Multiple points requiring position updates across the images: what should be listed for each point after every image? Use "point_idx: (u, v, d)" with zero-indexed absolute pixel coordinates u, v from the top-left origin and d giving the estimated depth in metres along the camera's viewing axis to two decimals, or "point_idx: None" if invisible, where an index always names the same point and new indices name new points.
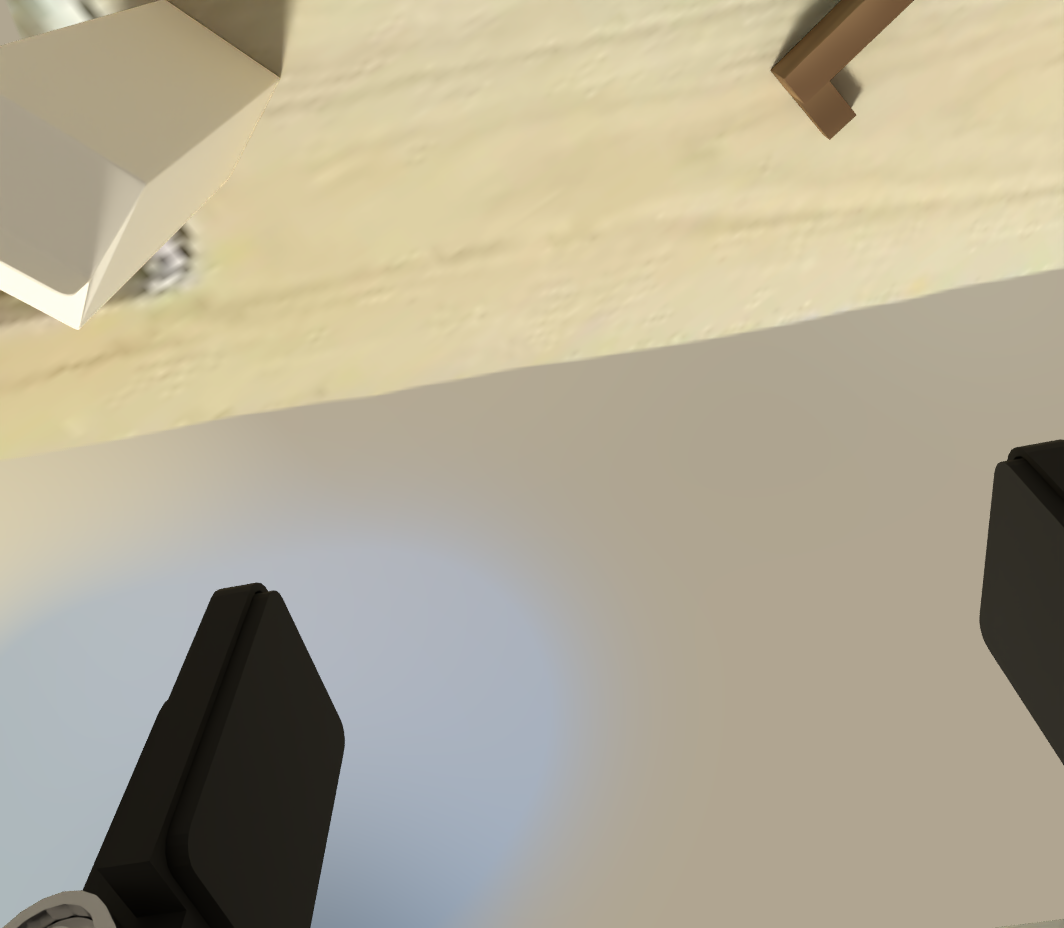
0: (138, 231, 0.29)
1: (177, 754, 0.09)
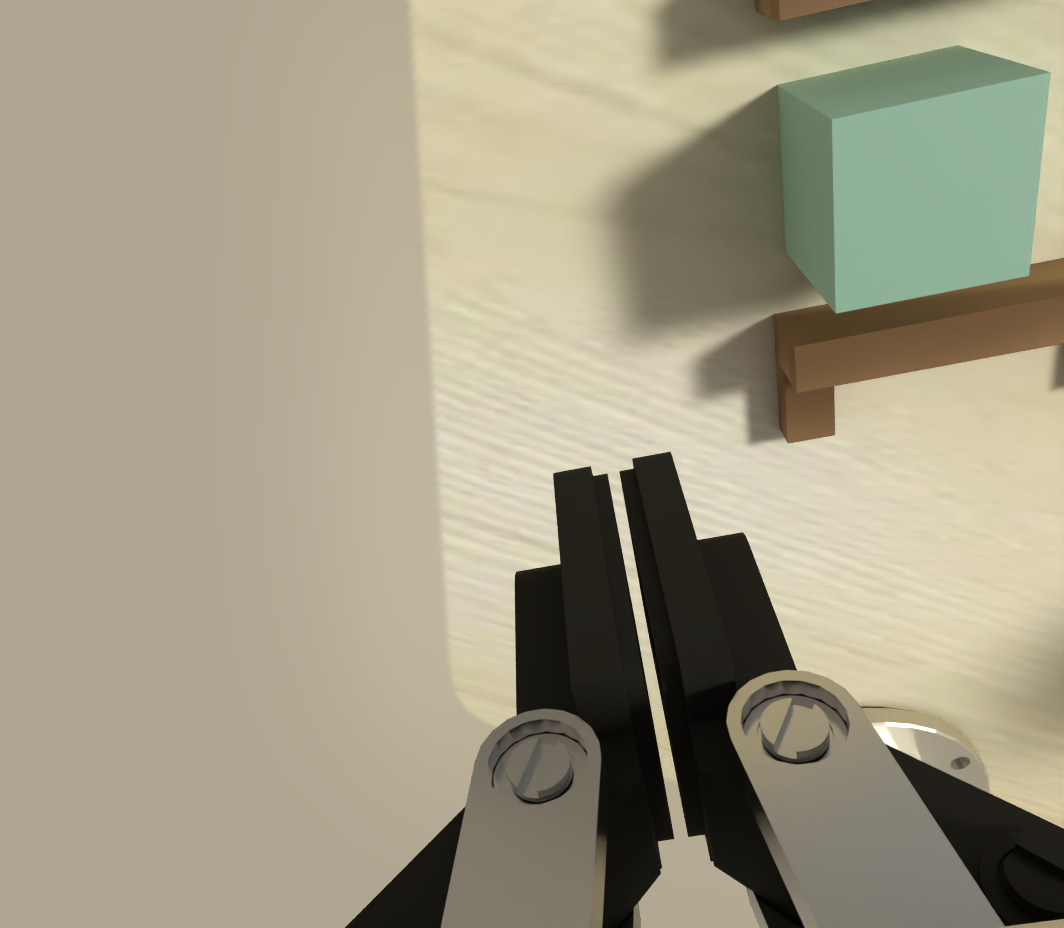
0: None
1: (597, 598, 0.09)
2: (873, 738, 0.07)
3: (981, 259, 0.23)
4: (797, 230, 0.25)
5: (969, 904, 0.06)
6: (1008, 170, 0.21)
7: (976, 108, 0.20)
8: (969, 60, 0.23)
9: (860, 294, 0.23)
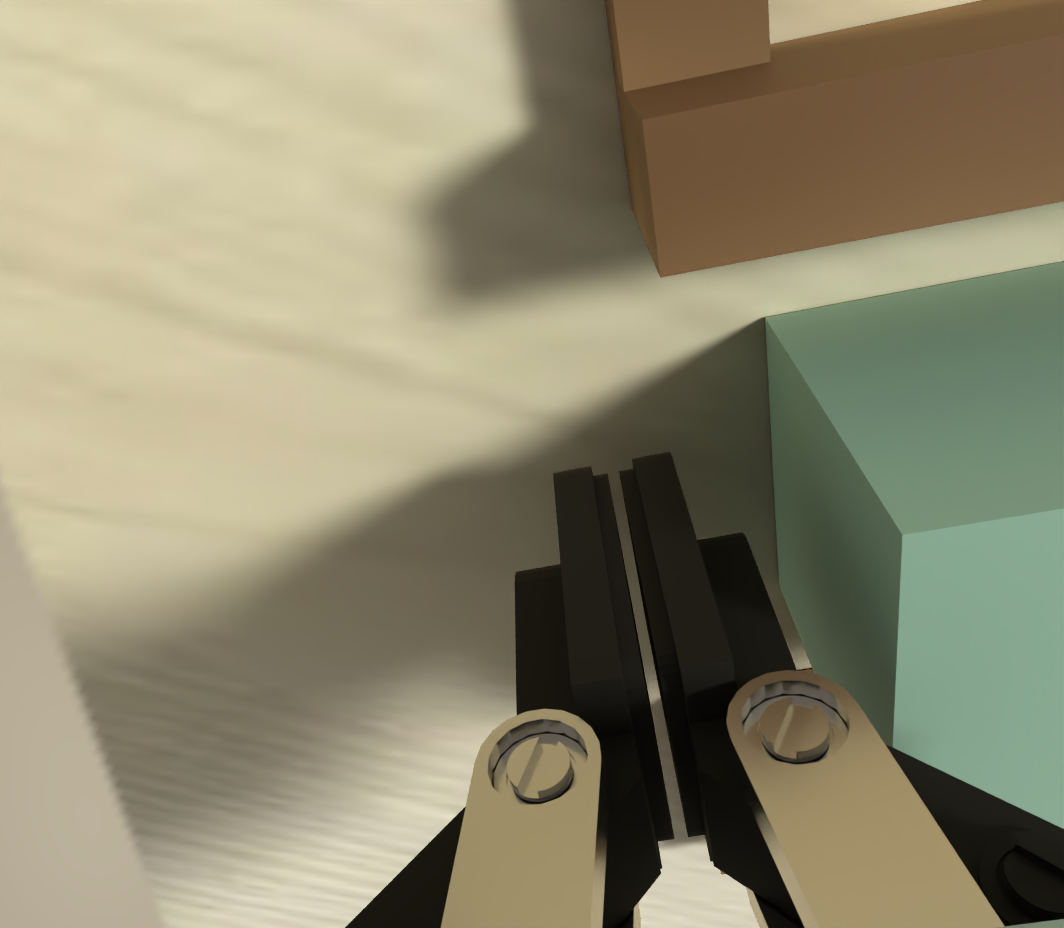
0: None
1: (597, 598, 0.09)
2: (873, 738, 0.07)
3: None
4: (803, 594, 0.13)
5: (969, 905, 0.06)
6: None
7: None
8: None
9: None
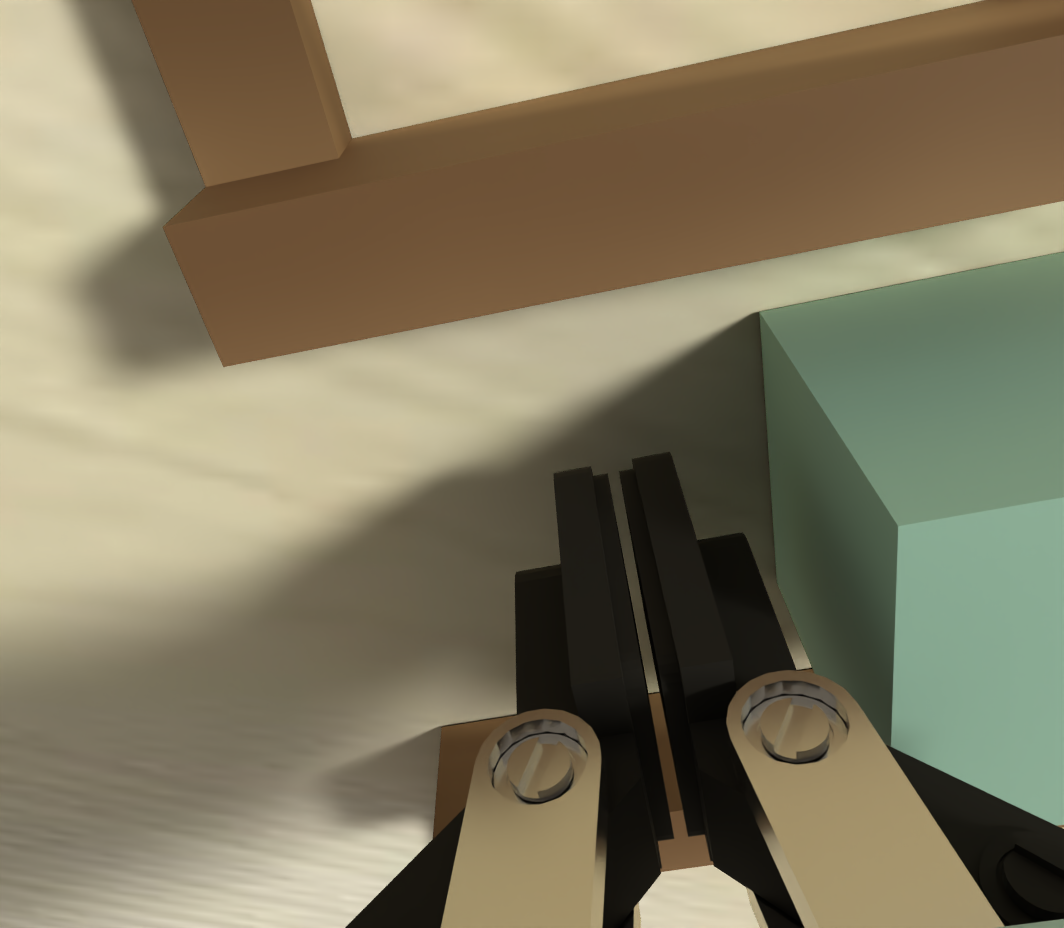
0: None
1: (597, 598, 0.09)
2: (872, 738, 0.07)
3: None
4: (801, 589, 0.13)
5: (968, 905, 0.06)
6: None
7: None
8: None
9: None
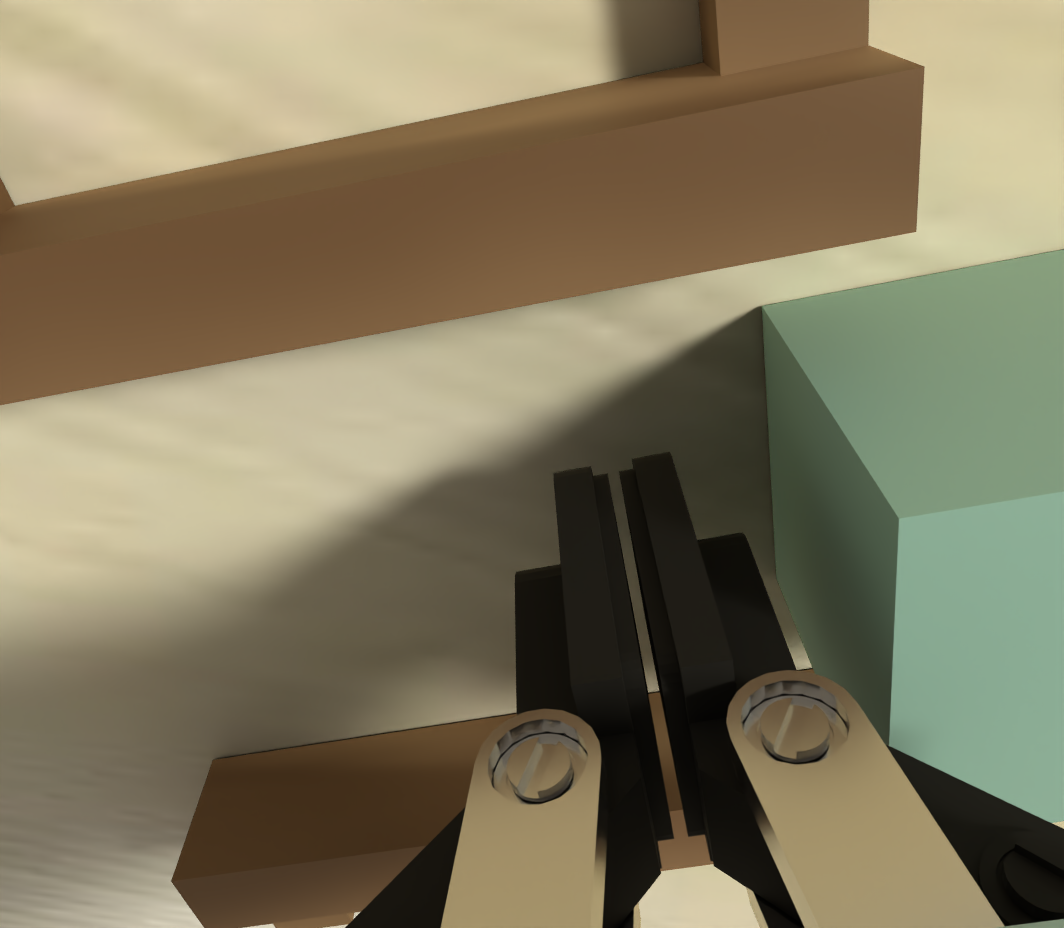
0: None
1: (597, 598, 0.09)
2: (873, 738, 0.07)
3: None
4: (800, 584, 0.13)
5: (968, 904, 0.06)
6: None
7: None
8: None
9: None
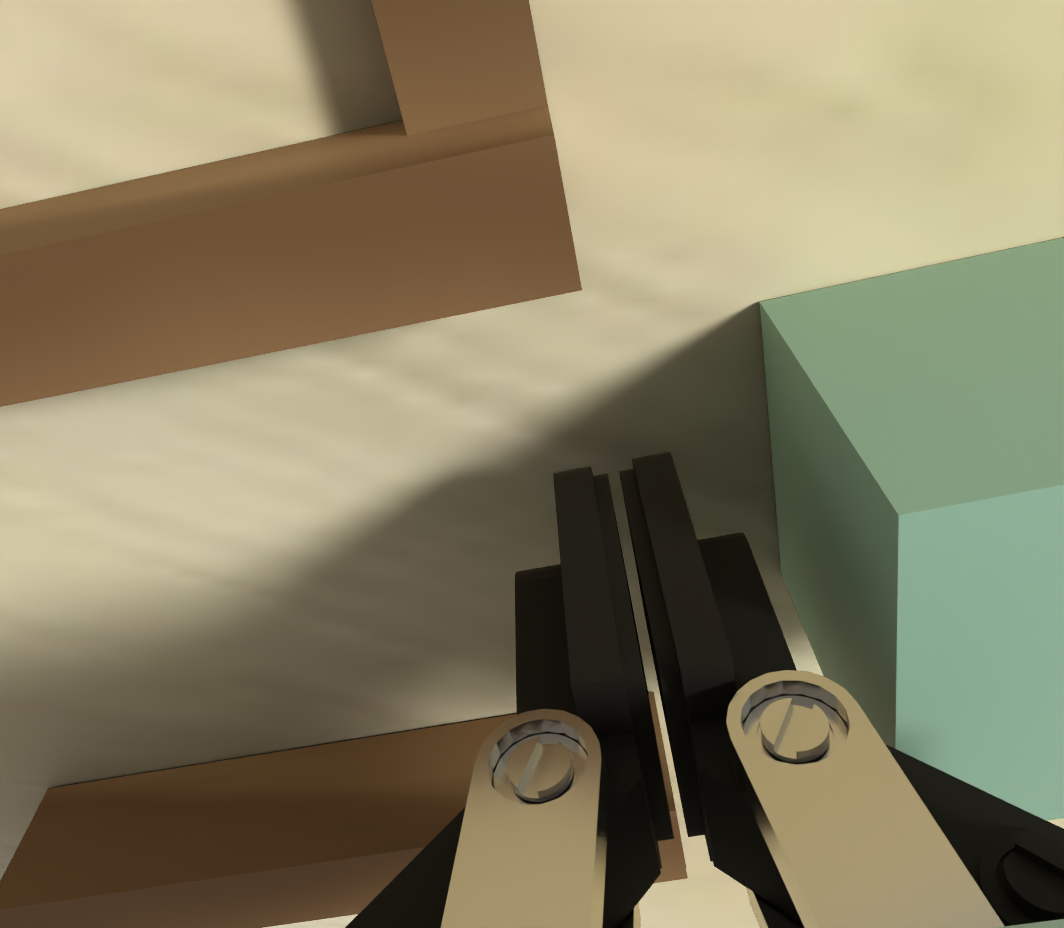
0: None
1: (597, 598, 0.09)
2: (872, 738, 0.07)
3: None
4: (805, 581, 0.13)
5: (969, 904, 0.06)
6: None
7: None
8: None
9: None
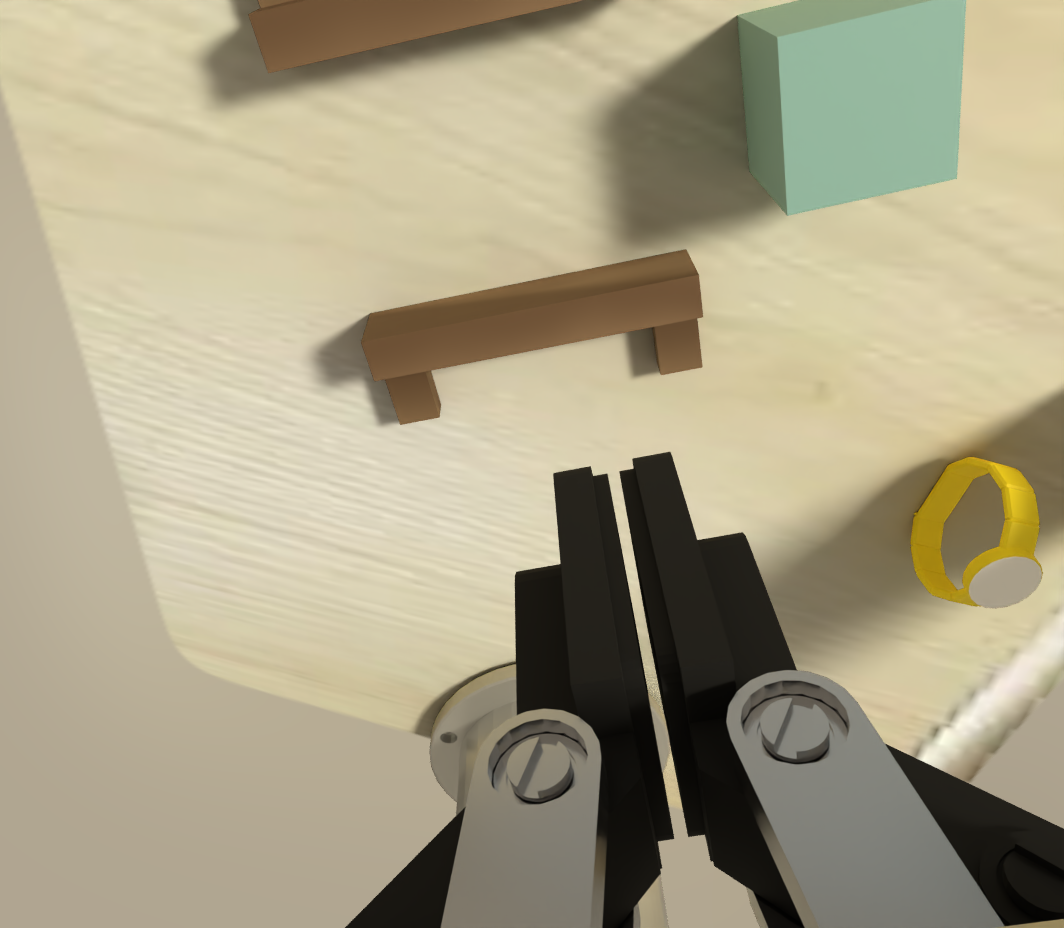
0: None
1: (597, 598, 0.09)
2: (873, 738, 0.07)
3: (914, 164, 0.26)
4: (757, 147, 0.29)
5: (969, 905, 0.06)
6: (934, 81, 0.24)
7: (903, 25, 0.24)
8: None
9: (808, 198, 0.26)
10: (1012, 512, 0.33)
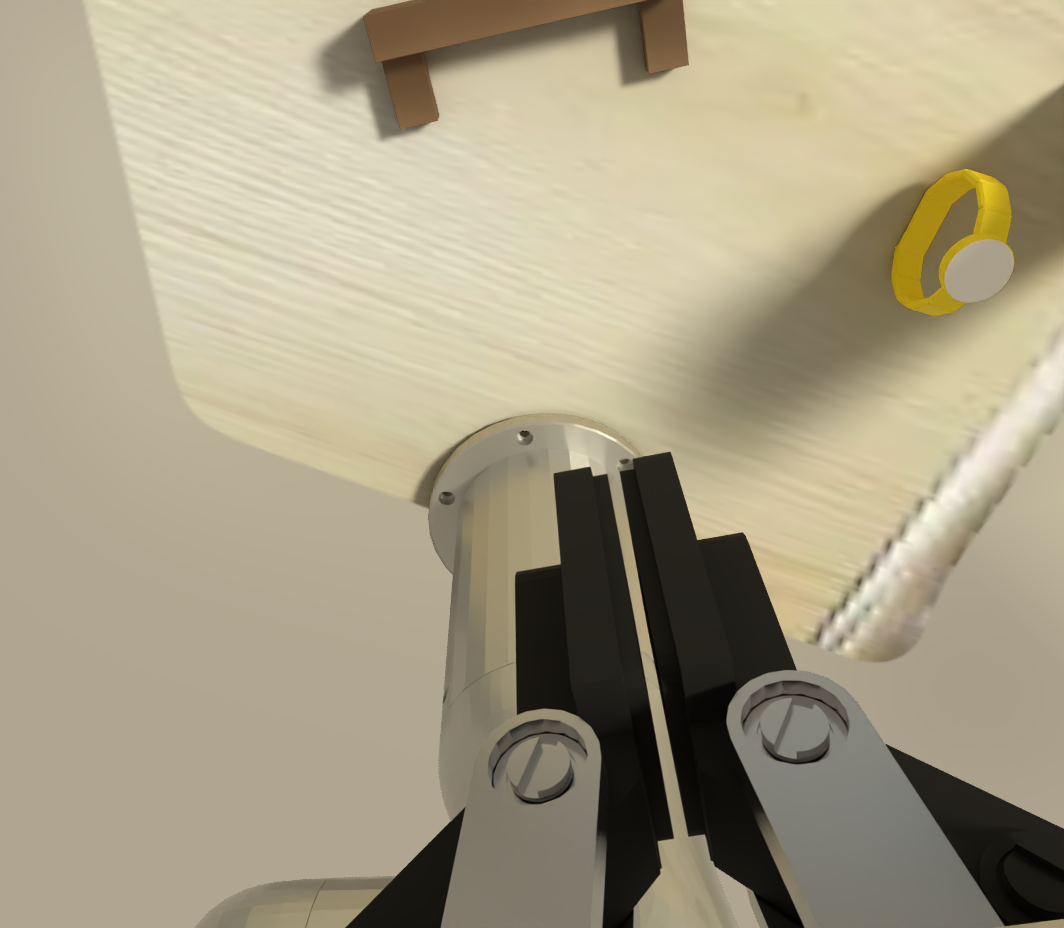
0: None
1: (597, 598, 0.09)
2: (873, 738, 0.07)
3: None
4: None
5: (969, 904, 0.06)
6: None
7: None
8: None
9: None
10: (985, 201, 0.35)
